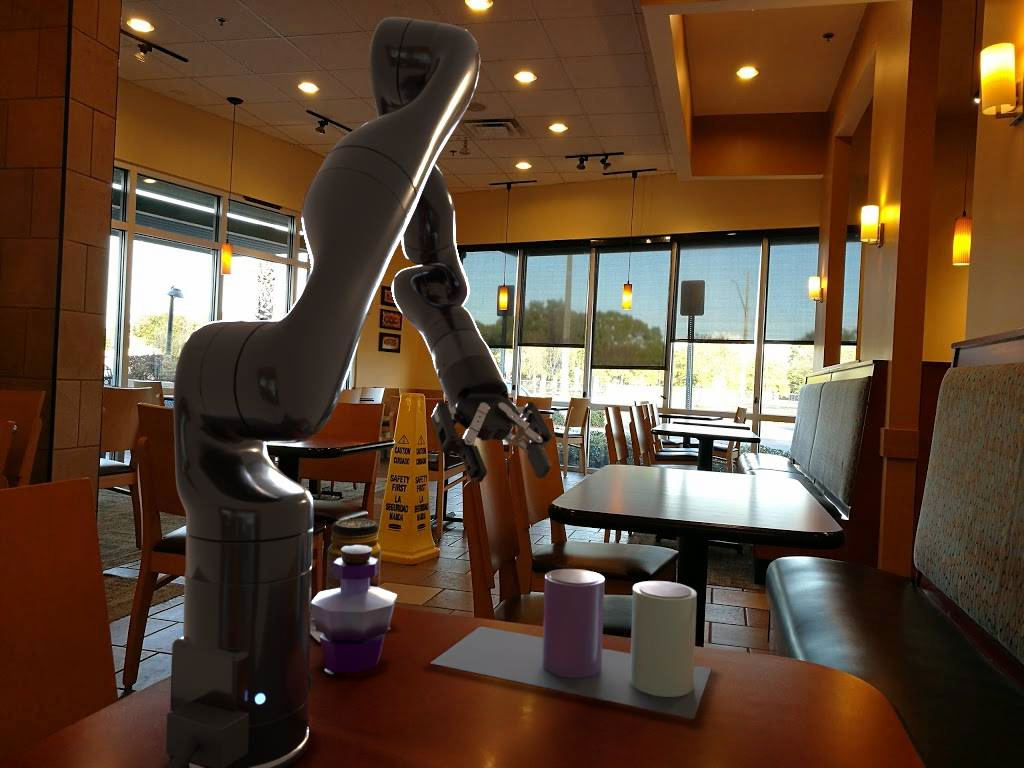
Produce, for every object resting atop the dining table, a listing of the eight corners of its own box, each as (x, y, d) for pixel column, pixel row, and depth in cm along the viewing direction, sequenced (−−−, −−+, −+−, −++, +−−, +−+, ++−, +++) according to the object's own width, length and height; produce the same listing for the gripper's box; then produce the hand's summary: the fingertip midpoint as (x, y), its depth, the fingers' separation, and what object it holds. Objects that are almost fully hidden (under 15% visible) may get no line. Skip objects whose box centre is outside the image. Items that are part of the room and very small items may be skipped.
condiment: (391, 630, 83) (394, 525, 83) (318, 643, 79) (321, 532, 78) (366, 611, 89) (369, 514, 89) (298, 622, 85) (301, 520, 84)
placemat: (693, 725, 63) (693, 718, 63) (429, 669, 73) (429, 663, 73) (711, 674, 74) (712, 668, 74) (480, 631, 84) (480, 625, 84)
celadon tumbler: (687, 702, 66) (691, 602, 66) (622, 689, 68) (626, 592, 68) (697, 677, 71) (701, 585, 71) (637, 666, 74) (640, 576, 74)
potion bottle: (341, 645, 78) (345, 534, 78) (412, 659, 75) (415, 543, 75) (289, 675, 70) (292, 551, 70) (365, 692, 67) (369, 562, 67)
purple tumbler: (591, 683, 69) (595, 588, 69) (533, 671, 72) (536, 579, 72) (608, 660, 75) (611, 572, 75) (553, 650, 77) (556, 565, 77)
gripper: (427, 350, 86) (471, 458, 77) (527, 354, 94) (578, 453, 84) (407, 393, 91) (447, 499, 81) (504, 394, 99) (550, 491, 89)
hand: (514, 476), depth 83 cm, fingers open, 8 cm apart
